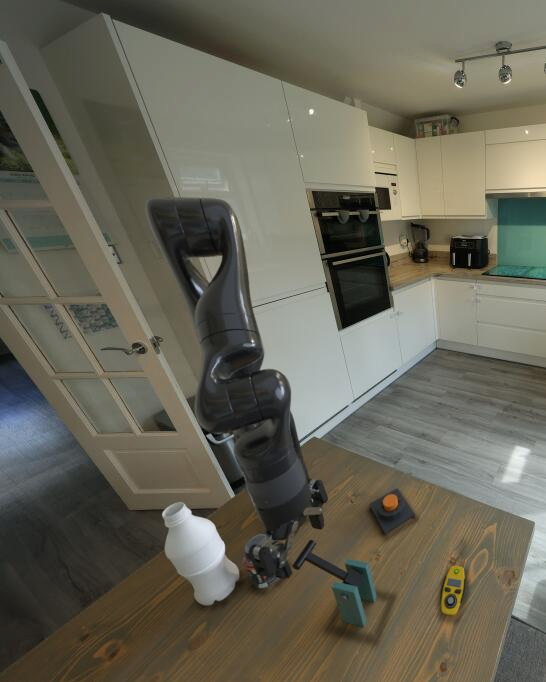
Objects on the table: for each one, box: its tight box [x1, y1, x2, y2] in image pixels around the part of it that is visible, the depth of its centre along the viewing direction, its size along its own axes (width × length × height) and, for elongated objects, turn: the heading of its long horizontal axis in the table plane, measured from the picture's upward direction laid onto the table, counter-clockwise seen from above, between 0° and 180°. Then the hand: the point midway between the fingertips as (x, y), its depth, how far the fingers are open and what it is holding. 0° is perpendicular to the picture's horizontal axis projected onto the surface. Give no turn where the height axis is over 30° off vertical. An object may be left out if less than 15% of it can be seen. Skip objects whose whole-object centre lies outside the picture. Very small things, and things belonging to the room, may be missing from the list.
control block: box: [368, 487, 416, 536], centre depth 80 cm, size 10×8×4 cm
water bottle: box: [161, 501, 240, 606], centre depth 60 cm, size 7×7×25 cm
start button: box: [383, 494, 398, 511], centre depth 79 cm, size 4×4×2 cm
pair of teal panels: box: [331, 558, 378, 628], centre depth 59 cm, size 10×7×13 cm
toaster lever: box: [291, 539, 364, 588], centre depth 57 cm, size 12×4×2 cm
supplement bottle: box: [242, 533, 280, 589], centre depth 65 cm, size 6×6×11 cm
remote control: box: [440, 565, 466, 616], centre depth 67 cm, size 5×2×15 cm
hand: (303, 549), depth 56 cm, fingers open, 8 cm apart
